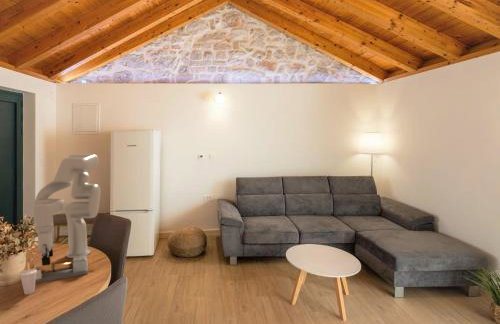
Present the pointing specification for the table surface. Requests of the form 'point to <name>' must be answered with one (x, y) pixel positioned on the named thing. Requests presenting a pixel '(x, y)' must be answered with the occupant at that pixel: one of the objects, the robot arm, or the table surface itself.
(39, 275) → the light grey u-shaped block
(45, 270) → the tube
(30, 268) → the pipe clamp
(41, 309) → the table surface
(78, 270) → the sleeve
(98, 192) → the robot arm
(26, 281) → the smoothie
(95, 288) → the table surface
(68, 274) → the board
